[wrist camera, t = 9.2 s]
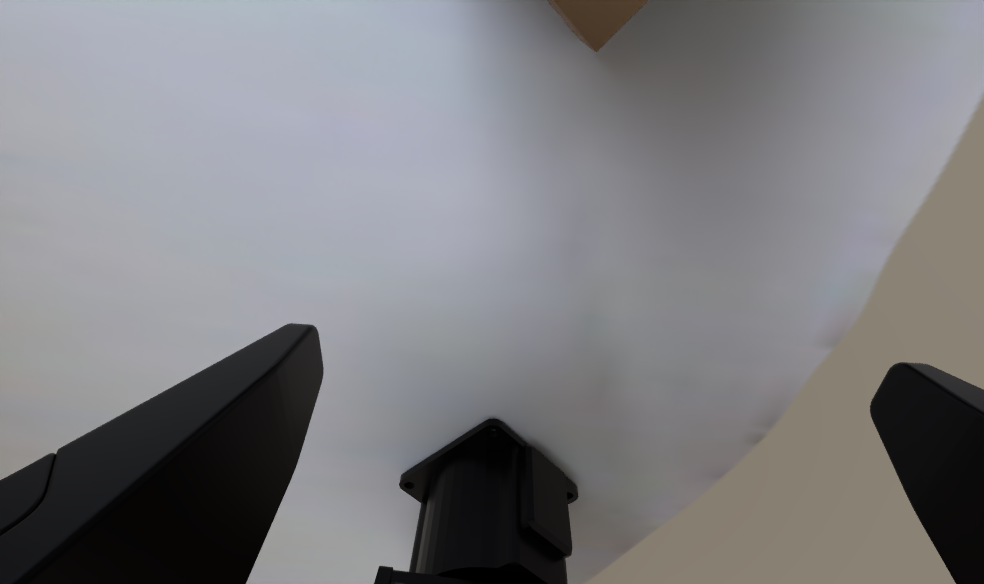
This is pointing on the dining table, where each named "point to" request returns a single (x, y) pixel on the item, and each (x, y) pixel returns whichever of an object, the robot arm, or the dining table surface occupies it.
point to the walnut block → (596, 17)
